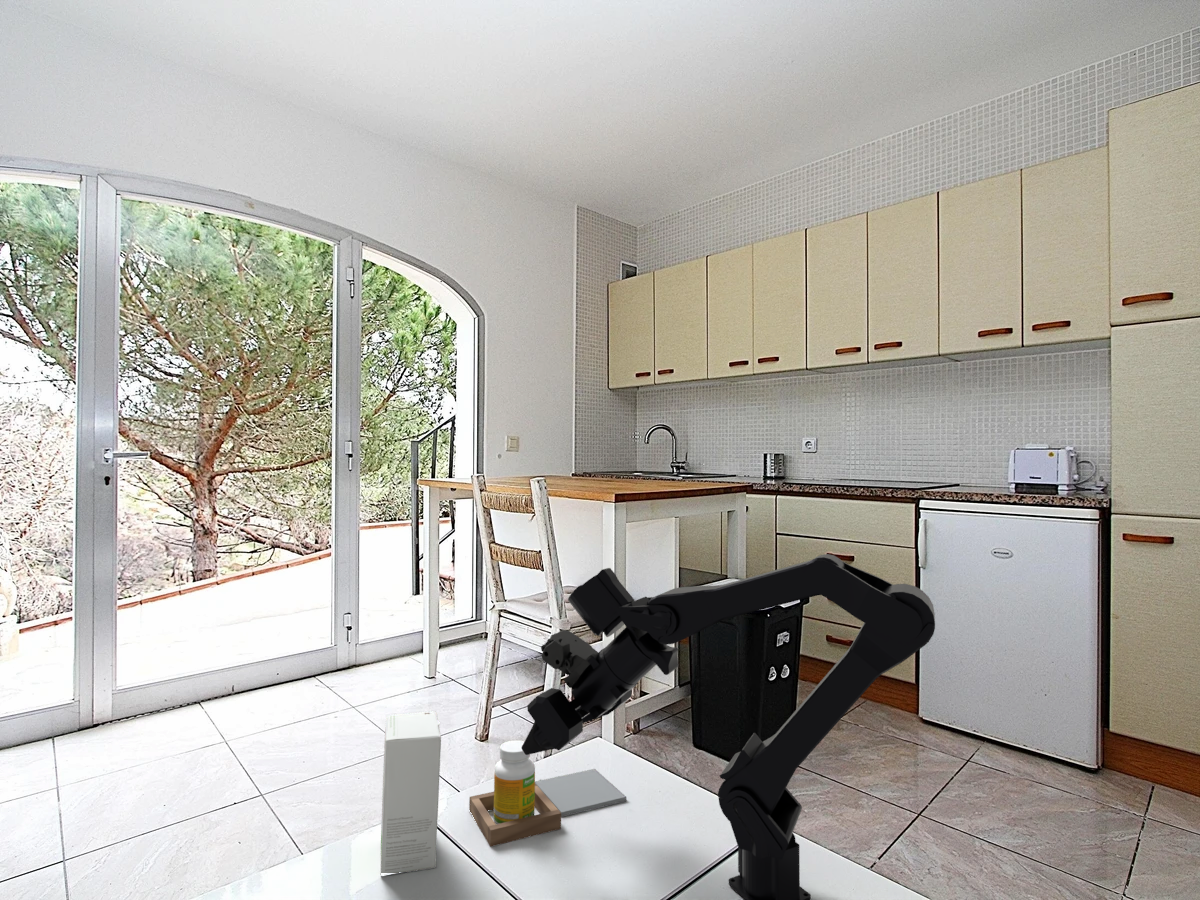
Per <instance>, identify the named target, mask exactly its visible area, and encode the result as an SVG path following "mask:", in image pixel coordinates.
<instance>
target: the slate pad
mask: <svg viewBox="0 0 1200 900" xmlns="http://www.w3.org/2000/svg"><path fill="white" fill-rule="evenodd" d="M535 784H536V785H537V786H538V787H539V788H540V789H541V791H542V792H543V793H544V794H545V795H546V796H547V797H548V799H549V800H550V801H551V802H552V803H553V804H554V805H555V807H556V808H557V809H558V810H559V811H560V812H561V818H563V817H567V816H571V815H575V814H579V813H583V812H587V811H591V810H595V809H596V810H597V809H599V808H603V807H607V806H612V805H615V804H620V803H624V802H627V796H626V795H625V794H624V793H623V792H622V791H621V790H620V789H619V788H618V787H616V786H615V785H614V784H613V783H612V782H610V781H609V780H608V779H607V778H606V777H605V776H604V775H603V774H602V773H600V772H599V771H598V770H597V769H596V768H592V769H587V770H582V771H578V772H573V773H569V774H564V775H560V776H554V777H549V778H544V779H540V780H535Z"/></svg>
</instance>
